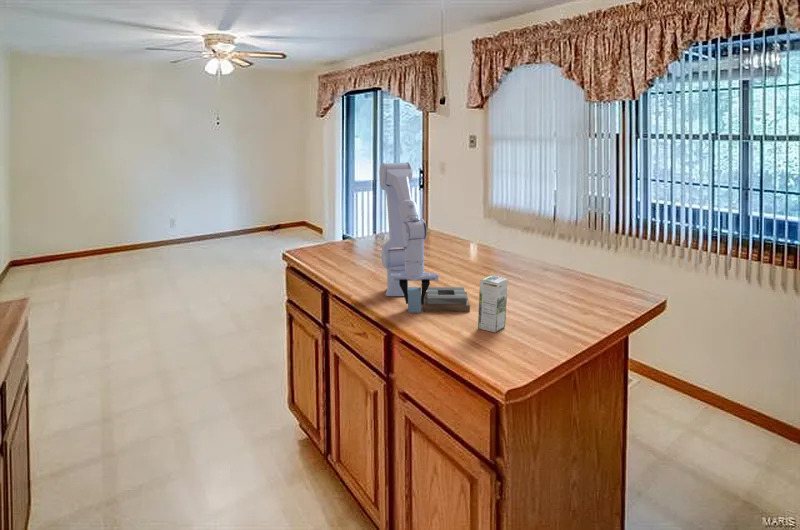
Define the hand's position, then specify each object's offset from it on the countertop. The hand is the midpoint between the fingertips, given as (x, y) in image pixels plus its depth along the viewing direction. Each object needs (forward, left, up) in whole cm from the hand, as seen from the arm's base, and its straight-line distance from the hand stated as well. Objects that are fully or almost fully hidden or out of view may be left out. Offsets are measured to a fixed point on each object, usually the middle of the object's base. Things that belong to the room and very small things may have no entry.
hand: (414, 303), depth 166 cm
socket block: (-6, +10, -2) cm, 12 cm away
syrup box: (+15, +22, -3) cm, 27 cm away
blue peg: (0, 0, -2) cm, 2 cm away
